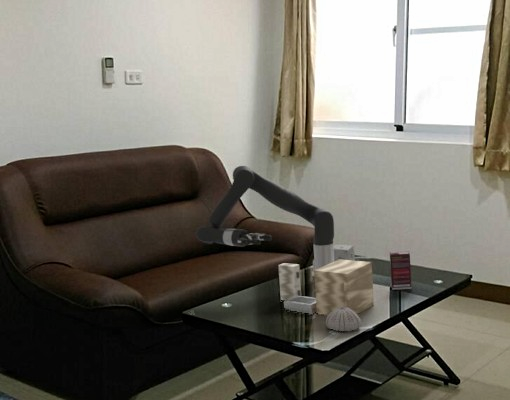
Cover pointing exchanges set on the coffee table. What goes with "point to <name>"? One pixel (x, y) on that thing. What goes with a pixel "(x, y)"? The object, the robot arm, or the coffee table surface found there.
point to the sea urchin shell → (343, 319)
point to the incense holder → (344, 252)
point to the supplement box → (400, 270)
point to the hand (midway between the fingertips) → (265, 240)
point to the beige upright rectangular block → (289, 280)
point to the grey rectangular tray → (301, 304)
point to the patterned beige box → (343, 286)
